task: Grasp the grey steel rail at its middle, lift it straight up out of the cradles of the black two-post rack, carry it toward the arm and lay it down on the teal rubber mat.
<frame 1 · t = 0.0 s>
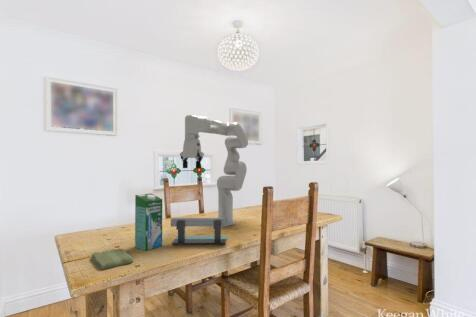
hand: (191, 168, 147), 37 cm above the table, tool pointing down, fingers open, 9 cm apart
milk carton: (148, 246, 127), on the table
rail: (199, 225, 132), point 9 cm above the table, touching rack
washcloth: (111, 262, 109), on the table
rack: (199, 243, 131), on the table
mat: (201, 239, 139), on the table
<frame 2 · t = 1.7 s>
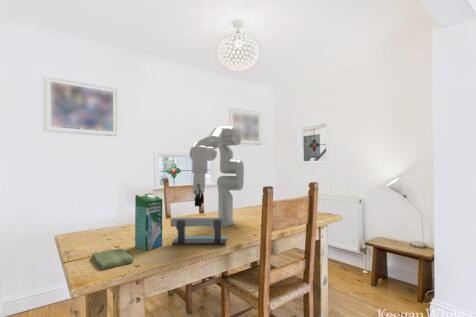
hand: (199, 204, 131), 19 cm above the table, tool pointing down, fingers open, 9 cm apart
nothing on the table moved.
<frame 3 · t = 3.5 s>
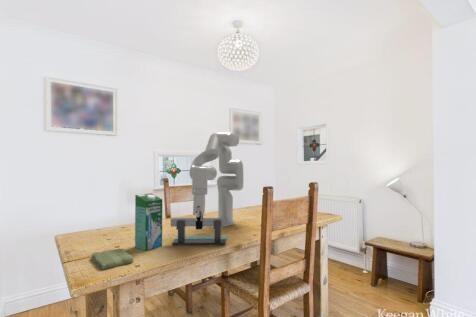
hand: (199, 227, 132), 8 cm above the table, tool pointing down, fingers closed on rail, 3 cm apart
rail: (199, 225, 132), point 9 cm above the table, touching gripper, rack
everything else where it was.
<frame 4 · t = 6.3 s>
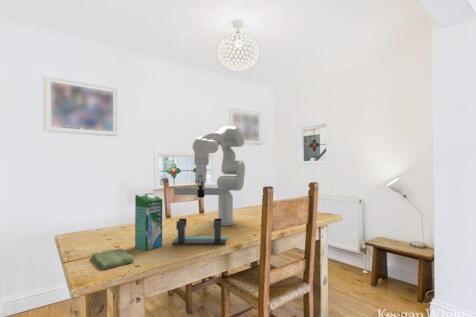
hand: (201, 196, 139), 23 cm above the table, tool pointing down, fingers closed on rail, 3 cm apart
rail: (201, 194, 139), point 24 cm above the table, touching gripper
everything else where it was.
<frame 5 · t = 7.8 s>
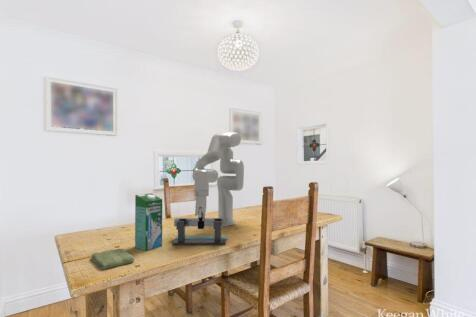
hand: (201, 227, 139), 6 cm above the table, tool pointing down, fingers closed on rail, 3 cm apart
rail: (201, 225, 139), point 7 cm above the table, touching gripper
everything else where it was.
when the fingers open (1 cm above the table, at t = 9.1 s): rail drops 1 cm, resting on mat.
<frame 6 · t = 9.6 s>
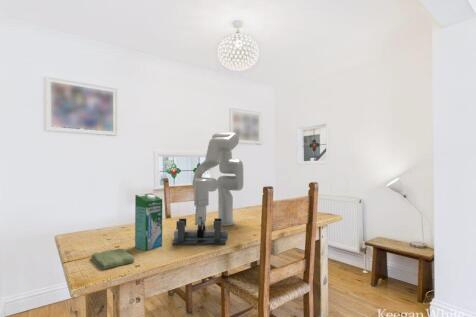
hand: (201, 235, 139), 2 cm above the table, tool pointing down, fingers open, 8 cm apart
rail: (201, 237, 139), point 1 cm above the table, touching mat
everything else where it was.
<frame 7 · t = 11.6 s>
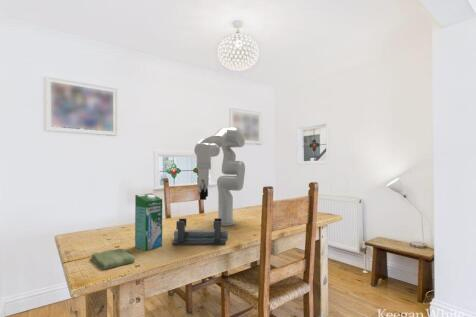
hand: (204, 198, 141), 21 cm above the table, tool pointing down, fingers open, 9 cm apart
nothing on the table moved.
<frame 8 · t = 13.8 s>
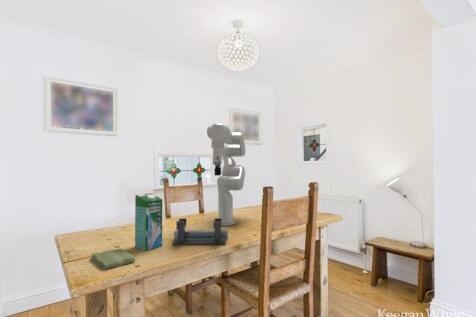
hand: (217, 174, 152), 33 cm above the table, tool pointing down, fingers open, 9 cm apart
nothing on the table moved.
at the end: rail inside the target area on the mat (0.1 cm from its centre), point 0.8 cm above the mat's base; rail touching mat; rail point 0.8 cm above the table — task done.
